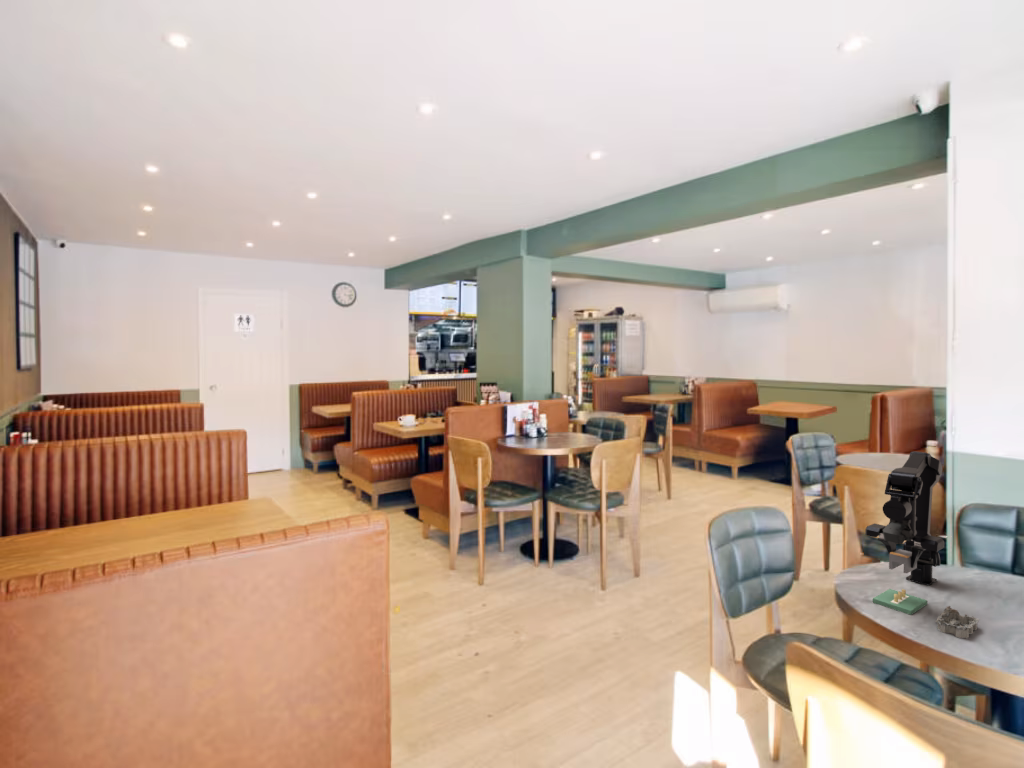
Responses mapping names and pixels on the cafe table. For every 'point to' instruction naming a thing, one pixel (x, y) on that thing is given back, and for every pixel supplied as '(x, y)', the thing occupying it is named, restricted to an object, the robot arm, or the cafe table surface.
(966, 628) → the egg carton
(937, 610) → the cafe table surface
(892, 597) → the board
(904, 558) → the plug housing
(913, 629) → the cafe table surface
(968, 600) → the cafe table surface
